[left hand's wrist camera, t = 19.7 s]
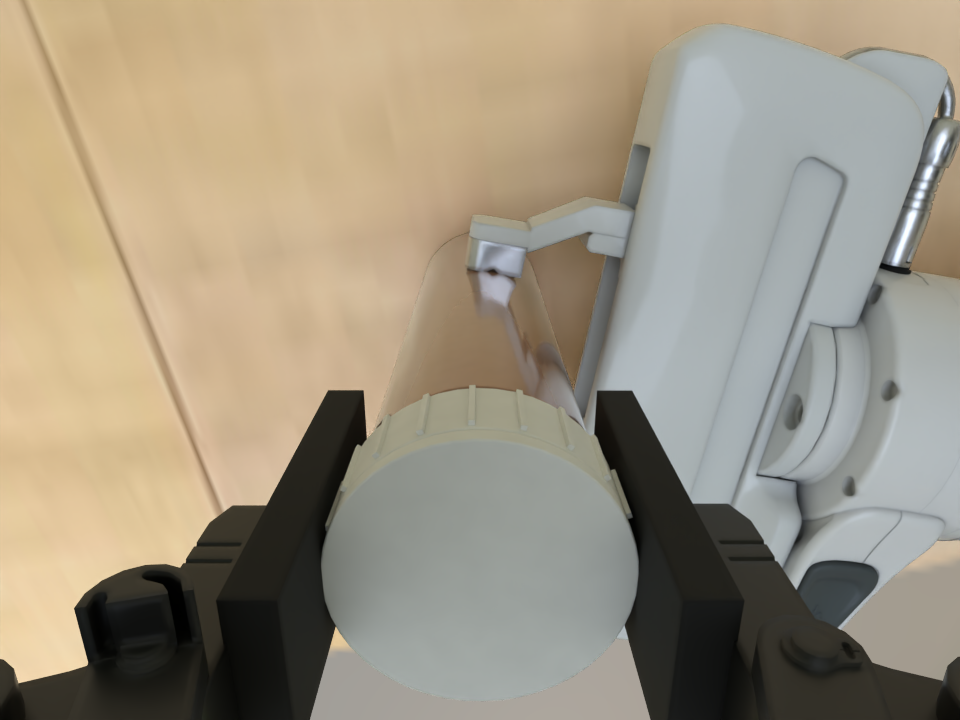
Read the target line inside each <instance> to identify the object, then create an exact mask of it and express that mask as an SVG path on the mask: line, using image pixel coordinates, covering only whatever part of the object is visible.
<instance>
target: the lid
mask: <svg viewBox="0 0 960 720" xmlns="http://www.w3.org/2000/svg"><path fill="white" fill-rule="evenodd" d="M630 518H633V516H632V513H631V511H630V508H629V505H628V503H627V500H626V497H625V494H624V492H623V489H622V486H621V484H620V481H619V478H618V476H617V473H616V470H615V469H613V470H610V468H609V465H608V463H607V461H606V459H605V457H604V455H603V453H602V450H601V447H600V445H599V442H598V439H597V437H596V436H595V435H594V434H593V435H591V436H590V435H589V434H588V433H587V432H586V431H585V430H584V429H583V428H582V427H581V426H580V425H579V424H578V423H577V422H575V421H574V420H573V419H572V418H570V417H569V416H568V415H566V412H565V409H564V408H562V407H561V406H560V407H559V408H558V409H557V408H555V407H553V406H552V405H550V404H548V403H545V402H543V401H541V400H538V399H536V398H534V397H531V396H527V395H524V394H523V391H522V390H518V389H517V390H516V392H513V391H506V390H500V389H489V388H476V385H469V389H458V390H453V391H448V392H443V393H438V394H435V395H433V396H430V395H429V393H427V394H425V395H423V398H422V399H421V400H419V401H417V402H415V403H412V404H410V405H408V406H406V407H404V408H403V409H401V410H400V411H398V412H397V413H395V414H394V415H392V416H391V417H390V415H389V414H387V415H386V416H384V417H383V420H382V424H381V425H380V426H379V427H378V428H376V429H375V431H374V432H373V433H372V434H371V435H370V436H369V437H368V439H367V440H366V441H365V442H364V444H363V445H362V446H360V445H357V446H356V448H355V450H354V453H353V455H352V458H351V461H350V464H349V466H348V469H347V472H346V474H345V477H344V480H343V481H341V484H340V487H339V490H338V492H337V495H336V498H335V500H334V503H333V506H332V509H331V511H330V514H329V517H328V519H327V522H326V525H325V528H326V531H327V533H326V537H325V540H324V544H323V548H322V555H321V570H322V581H323V590H324V599H325V602H326V605H327V608H328V610H329V613H330V616H331V618H332V620H333V622H334V623H335V625H336V627H337V629H338V631H339V632H340V634H341V635H342V636H343V638H344V639H345V640H346V642H347V643H348V644H349V646H350V647H351V648H352V649H353V650H354V651H355V652H356V653H357V654H358V655H359V656H360V657H361V658H362V659H363V660H364V661H366V662H367V663H368V664H369V665H371V666H372V667H373V668H374V669H376V670H377V671H379V672H380V673H382V674H384V675H385V676H387V677H388V678H390V679H391V680H393V681H396V682H398V683H400V684H402V685H404V686H406V687H408V688H411V689H414V690H417V691H419V692H422V693H425V694H429V695H433V696H437V697H441V698H446V699H453V700H461V701H481V702H484V701H499V700H507V699H513V698H519V697H523V696H527V695H530V694H534V693H538V692H541V691H544V690H546V689H549V688H551V687H554V686H556V685H558V684H560V683H562V682H564V681H566V680H568V679H570V678H572V677H574V676H575V675H576V674H578V673H579V672H581V671H582V670H584V669H585V668H587V667H588V666H589V665H591V664H592V663H593V662H594V661H595V660H596V659H597V658H599V657H600V656H601V655H602V654H603V653H604V652H605V651H606V649H607V648H608V647H609V646H610V645H611V644H612V643H613V642H614V640H615V639H616V637H617V636H618V634H619V633H620V632H621V630H622V629H623V627H624V625H625V623H626V621H627V619H628V617H629V615H630V613H631V610H632V607H633V604H634V601H635V597H636V593H637V585H638V574H639V557H638V551H637V545H636V541H635V538H634V535H633V532H632V529H631V526H630V524H629V521H628V519H630Z"/></svg>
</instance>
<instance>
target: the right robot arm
mask: <svg viewBox="0 0 960 720" xmlns="http://www.w3.org/2000/svg"><path fill="white" fill-rule="evenodd" d="M938 104H939V107H938V117H934V114H935V112H936V109H937V106H938ZM954 112H955V93H954V88H953V84H952V82H951V80H950V78H949V76H948V73H947V70H946V69H945V68H944V67H943V66H942V65H940V64H939V63H937V62H936V61H934V60H932V59H930V58H928V57H926V56H924V55H919V54H913V53H908V52H903V51H898V50H893V49H888V48H883V47H866V48H860V49H856V50H853V51H851V52H848V53H846V54H844V55H842V56H841V57H837V56H835V55H832V54H829V53H827V52H824V51H822V50H819V49H816V48H813V47H810V46H807V45H805V44H802V43H799V42H796V41H792V40H789V39H786V38H783V37H779V36H776V35H773V34H769V33H765V32H761V31H757V30H753V29H749V28H745V27H741V26H736V25H730V24H708V25H703V26H699V27H696V28H694V29H692V30H689V31H688V32H686V33H684V34H682V35H681V36H679V37H678V38H676V39H675V40H673V41H672V42H670V43H669V44H667V45H666V46H665V47H663V48H662V49H660V50H659V51H658V52H657V53H656V54H655V56H654V58H653V60H652V62H651V66H650V70H649V74H648V78H647V82H646V87H645V91H644V95H643V99H642V103H641V108H640V112H639V116H638V120H637V125H636V129H635V133H634V137H633V141H632V146H631V150H630V154H629V158H628V163H627V167H626V171H625V175H624V179H623V184H622V188H621V192H620V196H619V201H618V202H614V201H608V200H602V199H596V198H590V197H582V198H580V199H577V200H574V201H572V202H569V203H567V204H564V205H561V206H559V207H556V208H554V209H551V210H548V211H546V212H543V213H540V214H538V215H535V216H533V217H530V218H528V220H527V222H523V221H517V220H511V219H505V218H499V217H494V216H488V215H472V219H471V226H470V231H469V238H468V244H467V251H466V258H465V267H467V268H469V269H472V270H475V271H482V272H487V271H489V270H492V269H495V270H496V271H497V272H498V273H499V274H501V275H504V276H511V277H517V278H521V275H522V271H523V266H524V261H525V257H526V252H527V253H529V252H532V251H535V250H538V249H541V248H544V247H547V246H550V245H552V244H555V243H558V242H561V241H564V240H567V239H570V238H573V237H576V236H578V237H579V239H580V240H581V242H582V243H583V244H584V246H585V247H586V248H587V249H588V251H589V252H592V253H597V254H603V255H605V260H604V264H603V268H602V272H601V277H600V281H599V285H598V289H597V294H596V298H595V302H594V306H593V310H592V315H591V319H590V323H589V327H588V332H587V336H586V340H585V344H584V348H583V353H582V357H581V361H580V365H579V370H578V374H577V378H576V382H575V386H574V391H573V392H574V395H575V398H576V401H577V404H578V407H579V410H580V413H581V417H582V420H583V423H584V426H585V429H586V432H587V433H588V434H589V435H590V436H591V435H593V434H594V427H595V412H596V397H597V390H632V391H633V393H634V395H635V397H636V398H637V400H638V402H639V404H640V406H641V408H642V410H643V412H644V413H645V415H646V417H647V419H648V421H649V423H650V425H651V426H652V428H653V430H654V432H655V434H656V436H657V438H658V440H659V441H660V443H661V445H662V447H663V449H664V451H665V453H666V454H667V456H668V458H669V460H670V462H671V464H672V466H673V468H674V469H675V471H676V473H677V475H678V477H679V479H680V481H681V483H682V484H683V486H684V488H685V490H686V492H687V494H688V496H689V497H690V499H691V501H692V503H693V504H729V505H731V506H732V507H733V508H735V509H736V510H737V511H739V512H740V513H741V514H743V515H744V516H746V517H747V518H748V519H750V520H751V521H752V523H753V524H754V526H755V527H756V529H757V530H758V532H759V534H760V535H761V537H762V538H763V540H764V544H767V546H768V547H769V549H770V550H771V552H772V553H773V555H774V556H775V561H778V563H779V564H780V566H781V567H782V569H783V570H784V572H785V573H786V575H787V576H788V578H789V579H790V581H791V582H792V584H793V586H794V587H795V589H796V590H797V592H798V593H799V595H800V596H801V598H802V599H803V601H804V602H805V604H806V605H807V607H808V608H809V610H810V611H811V613H812V615H813V616H814V618H815V619H818V620H822V621H825V622H827V623H829V624H831V625H833V626H835V627H837V628H838V629H840V630H842V629H843V628H844V627H845V625H846V624H847V623H848V622H849V621H850V620H851V619H852V618H853V617H854V615H855V614H856V613H857V612H858V611H859V610H860V609H861V608H862V607H863V606H864V605H865V604H866V603H867V602H868V601H869V600H870V599H871V598H872V597H873V596H874V595H875V594H876V593H877V592H878V591H879V590H880V589H881V588H882V587H883V586H884V585H885V584H886V583H887V582H888V581H889V580H891V579H892V578H893V577H894V576H895V575H896V574H898V573H899V572H900V571H901V570H902V569H903V568H905V567H906V566H907V565H908V564H910V563H911V562H912V561H914V560H915V559H916V558H918V557H919V556H920V555H922V554H923V553H924V552H926V551H927V550H928V549H929V548H930V547H931V546H932V545H933V544H934V543H935V542H936V541H937V540H939V541H952V540H960V279H957V278H951V277H946V276H940V275H934V274H928V273H922V272H917V271H911V270H909V268H910V266H911V263H912V261H913V258H914V256H915V253H916V251H917V248H918V246H919V243H920V241H921V238H922V236H923V233H924V231H925V228H926V226H927V223H928V219H929V216H930V212H929V211H930V210H931V209H932V205H933V203H932V201H934V198H935V195H936V194H934V193H935V192H936V191H937V188H938V186H939V185H938V183H939V182H940V181H941V178H942V176H943V173H944V171H945V169H946V168H949V166H950V164H951V162H952V160H953V158H954V156H955V154H956V151H957V148H958V145H959V142H960V121H958V120H953V117H954ZM616 639H623V640H628V636H627V633H626V629H625V625H624V627H623V629H622V630H621V632H620V633H619V634H618V636H617V637H616Z"/></svg>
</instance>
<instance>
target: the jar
mask: <svg viewBox="0 0 960 720" xmlns="http://www.w3.org/2000/svg"><path fill="white" fill-rule="evenodd" d="M468 238H469V233H466V234H463V235H460V236H457V237H455V238H453V239H451V240H450V241H448V242H447V243H445V244H444V245H443V246H442V247H441V248H440V249H439V250H438V251H437V252H436V253H435V254H434V256H433V257H432V259H431V261H430V263H429V265H428V267H427V270H426V273H425V276H424V279H423V282H422V285H421V288H420V291H419V294H418V297H417V300H416V303H415V306H414V309H413V312H412V315H411V318H410V322H409V325H408V328H407V331H406V334H405V337H404V340H403V343H402V346H401V349H400V352H399V355H398V358H397V361H396V364H395V367H394V370H393V373H392V376H391V379H390V382H389V385H388V388H387V391H386V394H385V397H384V400H383V403H382V406H381V410H380V413H379V416H378V419H377V422H376V425H375V428H374V431H375V429H376V428H378V427H379V426H380V425H381V424H382V420H383V417H384V416H386V415H387V414H389V415H390V417H391V416H392V415H394V414H395V413H397V412H398V411H400V410H401V409H403V408H404V407H406V406H408V405H410V404H412V403H415V402H417V401H419V400H421V399H422V398H423V395H425V394H427V393H429V395H430V396H433V395H435V394H438V393H443V392H448V391H453V390H458V389H469V385H476V388H489V389H500V390H506V391H513V392H516V390H517V389H518V390H522V391H523V394H524V395H527V396H531V397H534V398H536V399H538V400H541V401H543V402H545V403H548V404H550V405H552V406H553V407H555V408H557V409H558V408H559V407H560V406H561V407H562V408H564V409H565V412H566V415H568V416H569V417H570V418H572V419H573V420H574V421H575V422H577V423H578V424H579V425H580V426H581V427H582V428H583V429H584V430H585V431H586V429H585V426H584V423H583V420H582V417H581V413H580V410H579V407H578V404H577V401H576V398H575V395H574V392H573V389H572V386H571V383H570V380H569V377H568V374H567V371H566V368H565V365H564V362H563V359H562V356H561V352H560V349H559V346H558V343H557V340H556V337H555V334H554V331H553V328H552V325H551V322H550V319H549V316H548V313H547V310H546V307H545V304H544V301H543V298H542V294H541V291H540V288H539V285H538V282H537V279H536V276H535V273H534V270H533V267H532V265H531V263H530V261H529V259H528V257H527V256H526V257H525V261H524V266H523V271H522V275H521V278H517V277H511V276H504V275H501V274H499V273H498V272H497V271H496V270H495V269H492V270H489V271H487V272H482V271H475V270H472V269H469V268H467V267H465V258H466V251H467V244H468ZM374 431H373V432H374Z"/></svg>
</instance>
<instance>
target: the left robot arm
mask: <svg viewBox="0 0 960 720" xmlns="http://www.w3.org/2000/svg"><path fill="white" fill-rule="evenodd" d="M594 435H595V436H596V437H597V439H598V442H599V445H600V447H601V450H602V453H603V455H604V457H605V459H606V461H607V463H608V465H609V468H610V470H613V469H615V470H616V473H617V476H618V478H619V481H620V484H621V486H622V489H623V492H624V494H625V497H626V500H627V503H628V505H629V508H630V511H631V513H632V516H633V518H630V519H628V521H629V524H630V526H631V529H632V532H633V535H634V538H635V541H636V545H637V551H638V557H639V574H638V585H637V593H636V597H635V601H634V604H633V607H632V610H631V613H630V615H629V617H628V619H627V621H626V623H625V629H626V633H627V636H628V640H629V643H630V647H631V651H632V654H633V658H634V661H635V665H636V668H637V672H638V676H639V679H640V683H641V687H642V690H643V694H644V697H645V701H646V704H647V708H648V712H649V715H650V719H651V720H960V657H957V658H956V659H955V660H954V661H953V662H952V663H950V664H949V665H948V667H947V670H946V673H945V676H944V679H943V681H941V680H936V679H932V678H928V677H924V676H919V675H916V674H911V673H907V672H903V671H899V670H894V669H891V668H887V667H884V666H881V665H878V664H874V663H872V662H871V660H870V658H869V657H868V655H867V654H866V652H865V650H864V649H863V647H862V646H861V645H860V644H859V643H857V642H856V641H855V640H854V639H853V638H852V637H850V636H849V635H848V634H847V633H846V632H844V631H842V630H840V629H838V628H837V627H835V626H833V625H831V624H829V623H827V622H825V621H822V620H818V619H815V618H814V616H813V615H812V613H811V611H810V610H809V608H808V607H807V605H806V604H805V602H804V601H803V599H802V598H801V596H800V595H799V593H798V592H797V590H796V589H795V587H794V586H793V584H792V582H791V581H790V579H789V578H788V576H787V575H786V573H785V572H784V570H783V569H782V567H781V566H780V564H779V563H778V561H775V556H774V555H773V553H772V552H771V550H770V549H769V547H768V546H767V544H764V540H763V538H762V537H761V535H760V534H759V532H758V530H757V529H756V527H755V526H754V524H753V523H752V521H751V520H750V519H748V518H747V517H746V516H744V515H743V514H741V513H740V512H739V511H737V510H736V509H735V508H733V507H732V506H731V505H729V504H693V503H692V501H691V499H690V497H689V496H688V494H687V492H686V490H685V488H684V486H683V484H682V483H681V481H680V479H679V477H678V475H677V473H676V471H675V469H674V468H673V466H672V464H671V462H670V460H669V458H668V456H667V454H666V453H665V451H664V449H663V447H662V445H661V443H660V441H659V440H658V438H657V436H656V434H655V432H654V430H653V428H652V426H651V425H650V423H649V421H648V419H647V417H646V415H645V413H644V412H643V410H642V408H641V406H640V404H639V402H638V400H637V398H636V397H635V395H634V393H633V391H632V390H597V397H596V412H595V427H594ZM366 440H367V436H366V420H365V405H364V390H328V392H327V394H326V396H325V397H324V399H323V401H322V403H321V405H320V407H319V409H318V411H317V412H316V414H315V416H314V418H313V420H312V422H311V424H310V425H309V427H308V429H307V431H306V433H305V435H304V437H303V439H302V440H301V442H300V444H299V446H298V448H297V450H296V452H295V453H294V455H293V457H292V459H291V461H290V463H289V465H288V467H287V468H286V470H285V472H284V474H283V476H282V478H281V480H280V482H279V483H278V485H277V487H276V489H275V491H274V493H273V495H272V496H271V498H270V500H269V502H268V504H267V506H231V507H230V508H229V509H227V510H226V511H225V512H223V513H222V514H221V515H219V516H218V517H217V518H215V519H214V520H213V521H211V522H210V523H209V525H208V526H207V528H206V529H205V531H204V532H203V534H202V535H201V537H200V538H199V540H198V542H197V546H196V547H194V548H193V549H192V551H191V552H190V554H189V555H188V557H187V558H186V563H183V565H182V566H181V568H178V567H175V566H171V565H167V564H160V565H144V566H140V567H136V568H132V569H128V570H124V571H122V572H120V573H117V574H115V575H113V576H111V577H109V578H107V579H104V580H102V581H101V582H100V583H98V584H97V585H96V586H94V587H93V588H92V589H90V590H89V591H88V592H86V593H85V594H84V596H83V597H82V598H81V600H80V601H79V602H78V604H77V605H76V607H75V608H74V610H75V614H76V617H77V621H78V625H79V629H80V633H81V636H82V640H83V644H84V648H85V652H86V655H87V659H88V665H87V666H85V667H82V668H79V669H76V670H72V671H69V672H65V673H61V674H56V675H52V676H48V677H44V678H40V679H35V680H31V681H27V682H23V683H18V681H17V678H16V674H15V671H14V668H12V667H11V666H10V665H9V664H8V663H7V662H6V661H4V660H2V659H0V720H310V717H311V713H312V710H313V706H314V702H315V699H316V695H317V692H318V688H319V684H320V681H321V677H322V674H323V670H324V666H325V663H326V659H327V656H328V652H329V648H330V645H331V641H332V638H333V634H334V630H335V627H336V625H335V623H334V622H333V620H332V618H331V616H330V613H329V610H328V608H327V605H326V602H325V599H324V590H323V581H322V570H321V555H322V548H323V544H324V540H325V537H326V533H327V531H326V528H325V525H326V522H327V519H328V517H329V514H330V511H331V509H332V506H333V503H334V500H335V498H336V495H337V492H338V490H339V487H340V484H341V481H343V480H344V477H345V474H346V472H347V469H348V466H349V464H350V461H351V458H352V455H353V453H354V450H355V448H356V446H357V445H360V446H362V445H363V444H364V442H365V441H366Z"/></svg>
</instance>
